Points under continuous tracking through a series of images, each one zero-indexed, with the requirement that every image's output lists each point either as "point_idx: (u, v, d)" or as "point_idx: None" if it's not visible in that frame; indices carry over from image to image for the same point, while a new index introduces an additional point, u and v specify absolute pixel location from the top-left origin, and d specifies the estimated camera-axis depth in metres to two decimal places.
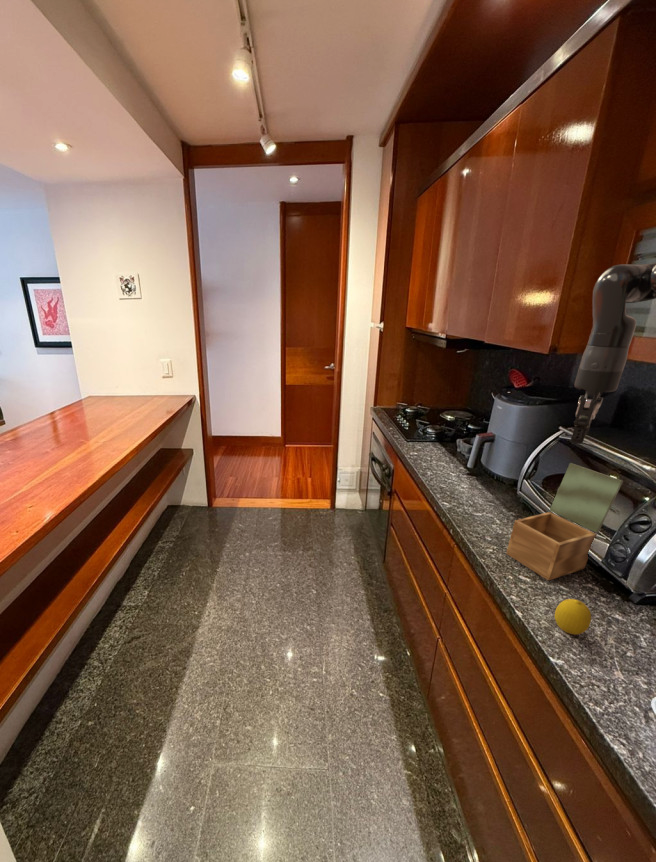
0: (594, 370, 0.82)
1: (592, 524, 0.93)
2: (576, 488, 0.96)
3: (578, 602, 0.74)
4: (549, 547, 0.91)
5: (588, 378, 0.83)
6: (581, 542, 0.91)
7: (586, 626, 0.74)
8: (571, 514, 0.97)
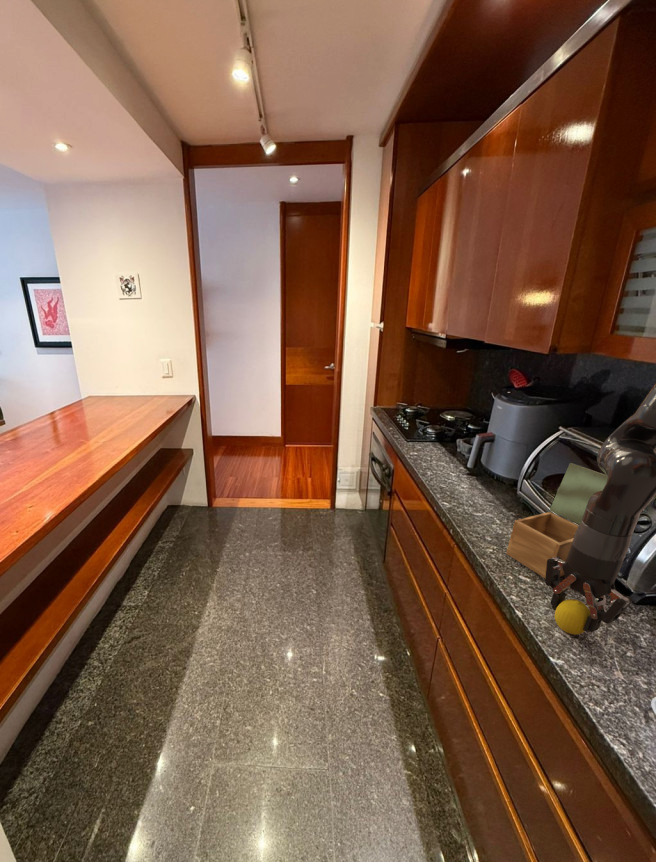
0: (618, 561, 0.67)
1: None
2: (576, 488, 0.96)
3: (578, 602, 0.74)
4: (549, 547, 0.91)
5: (611, 569, 0.67)
6: None
7: None
8: (571, 514, 0.97)
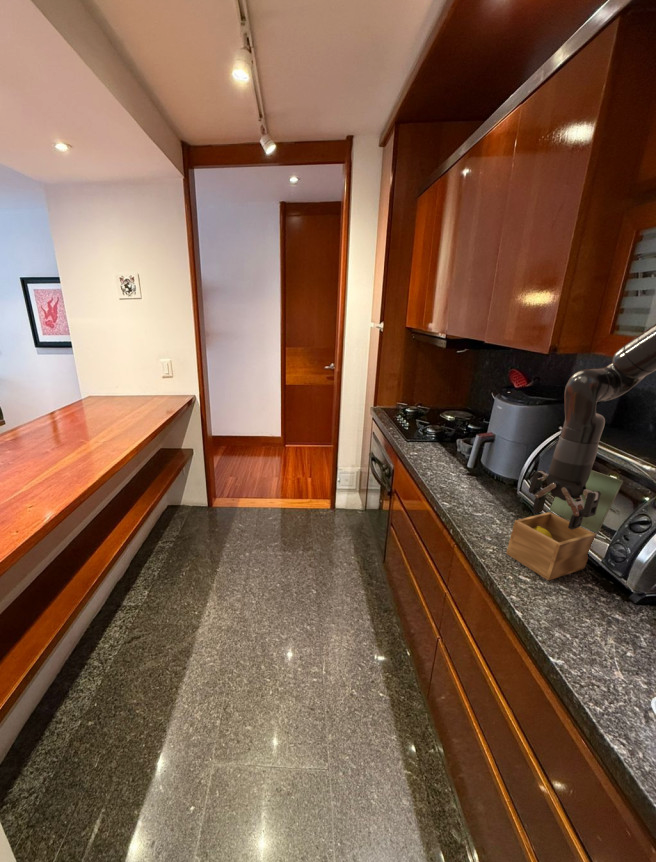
0: (587, 465, 0.84)
1: (592, 524, 0.93)
2: None
3: (538, 526, 0.98)
4: (549, 547, 0.91)
5: (582, 472, 0.85)
6: (581, 542, 0.91)
7: None
8: (571, 514, 0.97)
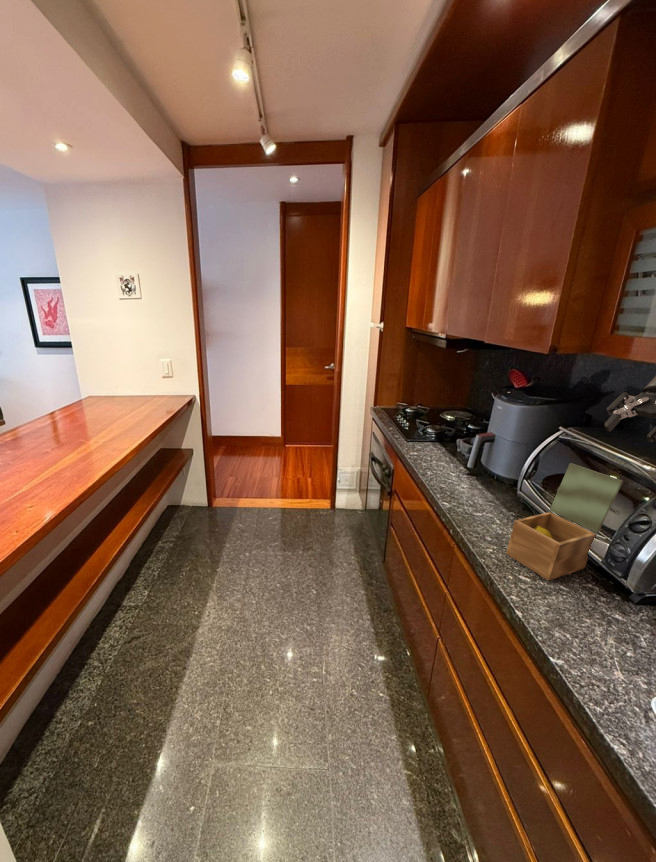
0: None
1: (592, 524, 0.93)
2: (576, 488, 0.96)
3: (538, 526, 0.98)
4: (549, 547, 0.91)
5: None
6: (581, 542, 0.91)
7: None
8: (571, 514, 0.97)
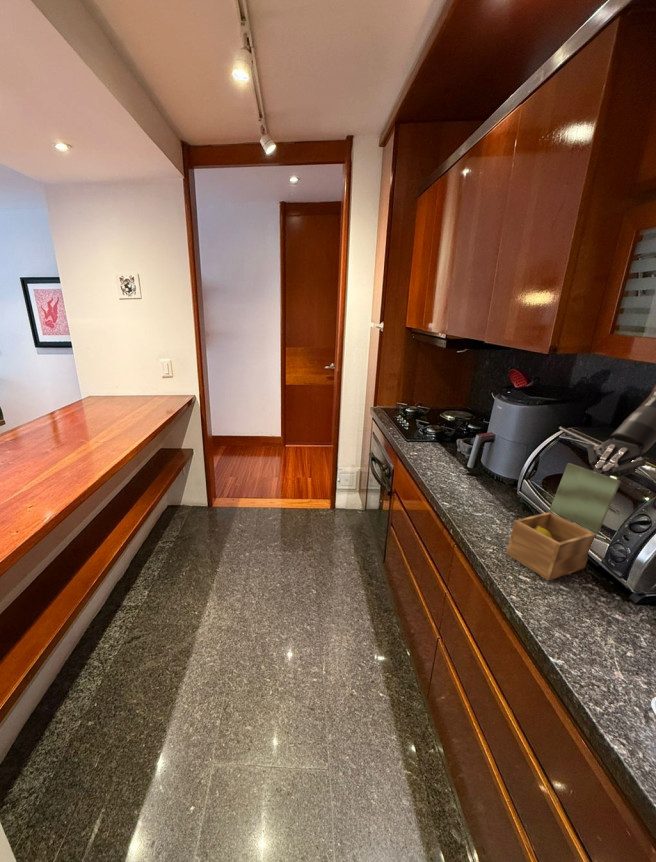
0: None
1: (592, 524, 0.93)
2: (575, 488, 0.96)
3: (538, 526, 0.98)
4: (549, 547, 0.91)
5: (651, 436, 0.89)
6: (581, 542, 0.91)
7: None
8: (571, 514, 0.97)
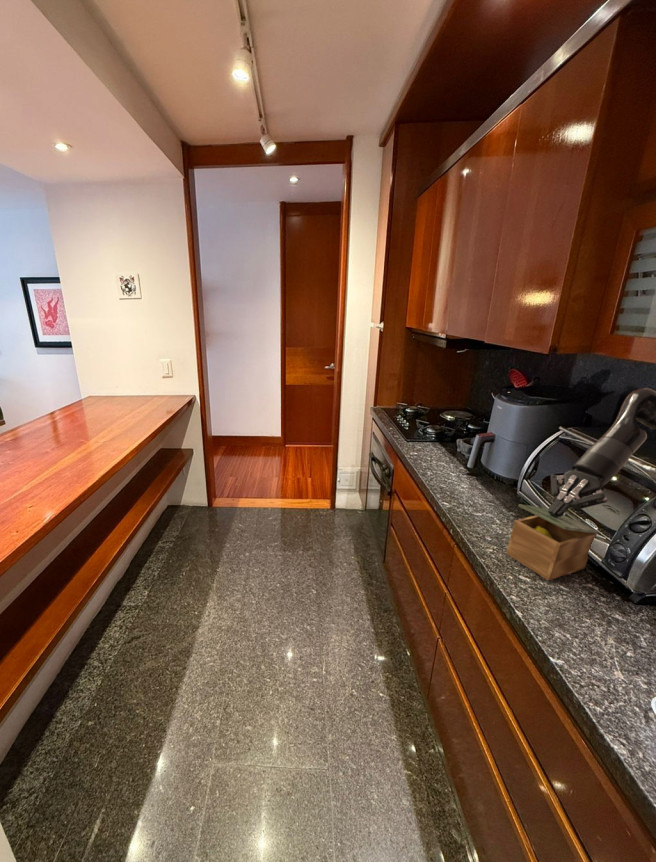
0: (618, 465, 0.89)
1: None
2: None
3: (538, 526, 0.98)
4: (549, 547, 0.91)
5: (611, 469, 0.88)
6: (581, 542, 0.91)
7: None
8: None
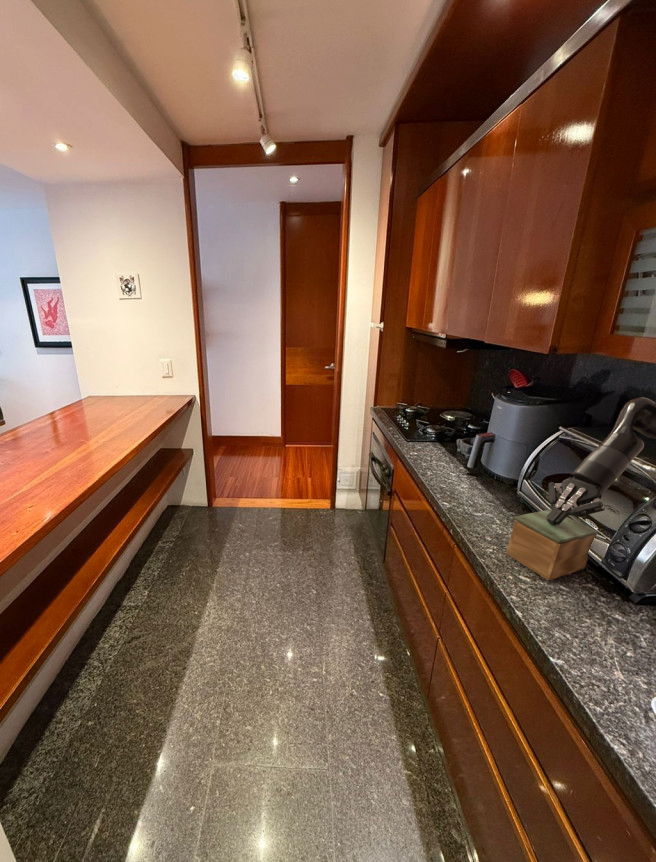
0: (615, 474, 0.89)
1: None
2: None
3: None
4: (549, 547, 0.91)
5: (608, 477, 0.89)
6: (581, 542, 0.91)
7: None
8: None
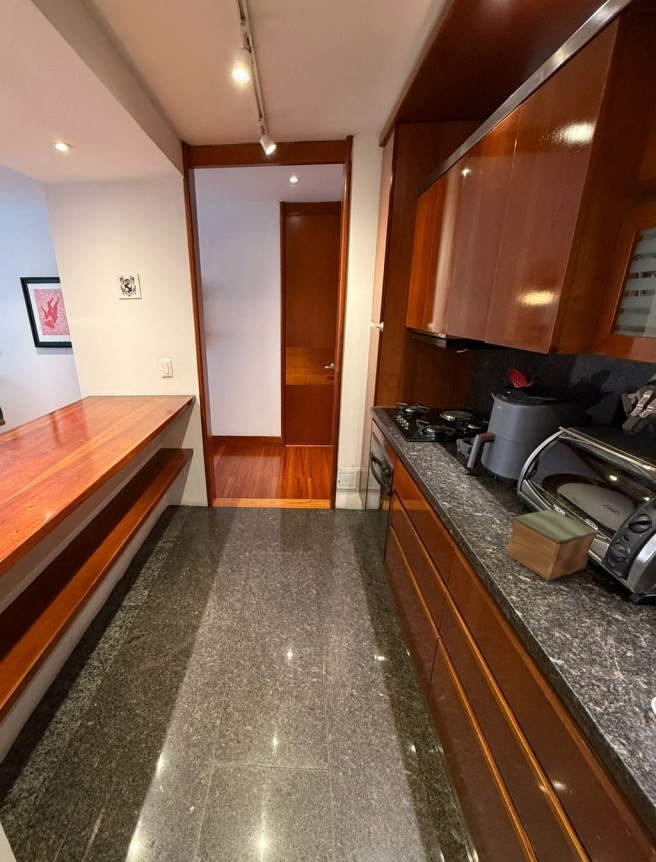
0: None
1: None
2: None
3: None
4: (549, 547, 0.91)
5: None
6: (581, 542, 0.91)
7: None
8: None
